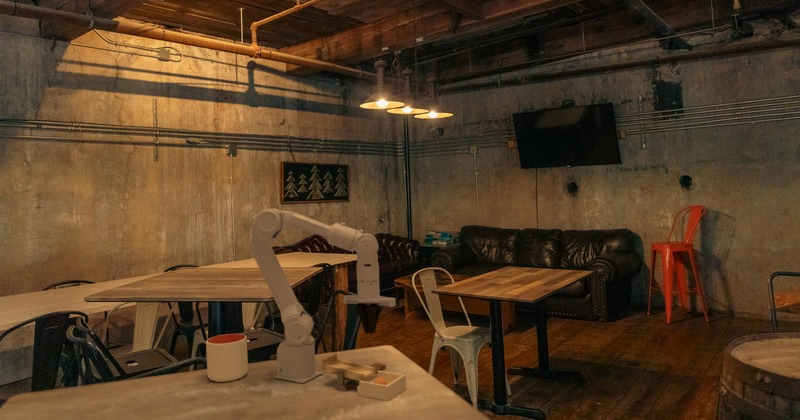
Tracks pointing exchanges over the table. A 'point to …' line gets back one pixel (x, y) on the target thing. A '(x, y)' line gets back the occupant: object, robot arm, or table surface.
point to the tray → (383, 386)
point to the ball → (380, 381)
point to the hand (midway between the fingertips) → (370, 332)
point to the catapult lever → (350, 368)
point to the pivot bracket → (344, 382)
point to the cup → (227, 357)
